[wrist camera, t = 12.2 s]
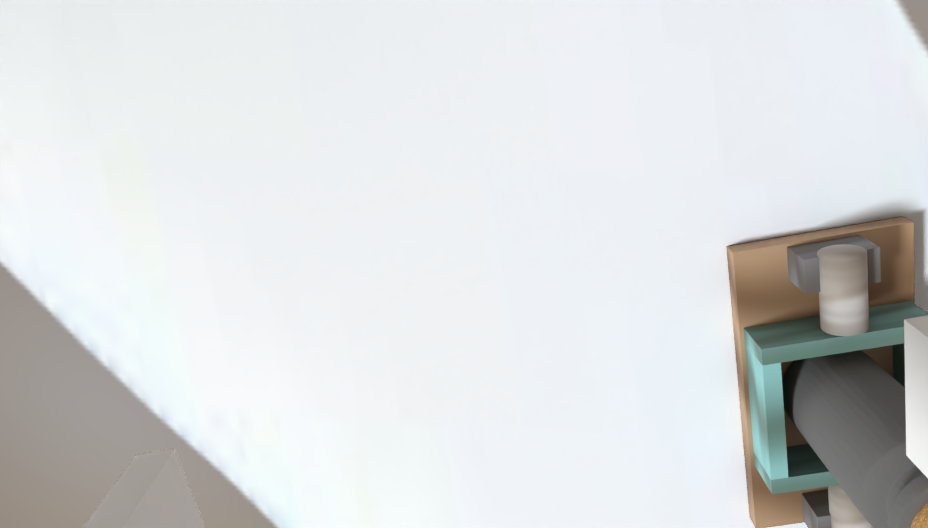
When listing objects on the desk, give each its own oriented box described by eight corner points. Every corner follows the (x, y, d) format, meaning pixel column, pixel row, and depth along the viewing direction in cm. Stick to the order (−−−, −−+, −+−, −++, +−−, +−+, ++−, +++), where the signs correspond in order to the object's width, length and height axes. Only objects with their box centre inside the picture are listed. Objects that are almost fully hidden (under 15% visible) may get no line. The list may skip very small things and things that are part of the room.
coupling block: (726, 246, 45) (754, 273, 40) (902, 216, 44) (951, 240, 39) (749, 517, 50) (776, 567, 46) (905, 495, 50) (948, 544, 45)
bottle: (761, 410, 47) (883, 587, 32) (808, 328, 45) (959, 477, 31) (846, 441, 47) (1003, 628, 33) (896, 361, 45) (1085, 523, 31)
